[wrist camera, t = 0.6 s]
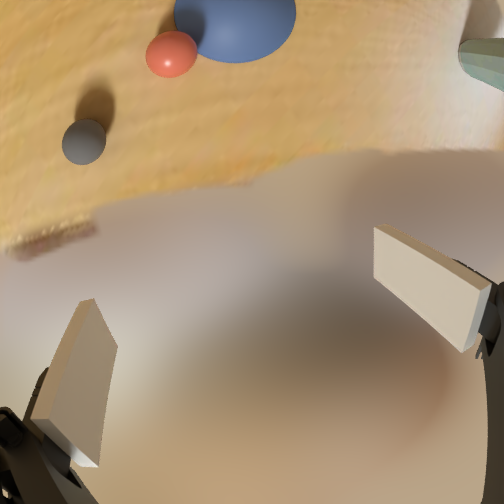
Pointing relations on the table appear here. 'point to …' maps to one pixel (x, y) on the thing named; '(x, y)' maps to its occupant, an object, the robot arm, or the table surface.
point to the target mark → (236, 27)
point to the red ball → (171, 54)
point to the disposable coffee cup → (484, 60)
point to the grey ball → (84, 141)
